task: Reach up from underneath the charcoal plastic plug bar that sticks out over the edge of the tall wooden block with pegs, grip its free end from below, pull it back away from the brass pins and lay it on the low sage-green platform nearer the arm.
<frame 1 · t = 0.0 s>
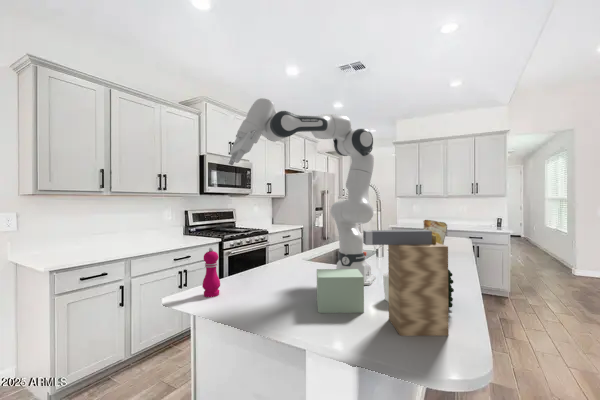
hand: (233, 163, 121), 54 cm above the counter, tool tilted 30°, fingers open, 8 cm apart
green platform: (339, 306, 113), on the counter
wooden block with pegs: (416, 326, 95), on the counter
plug bar: (396, 243, 95), point 26 cm above the counter, touching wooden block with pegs
white cup: (393, 300, 119), on the counter
pancake mix bag: (432, 276, 155), on the counter
toy figurine: (438, 302, 117), on the counter
pepper mill: (211, 295, 128), on the counter
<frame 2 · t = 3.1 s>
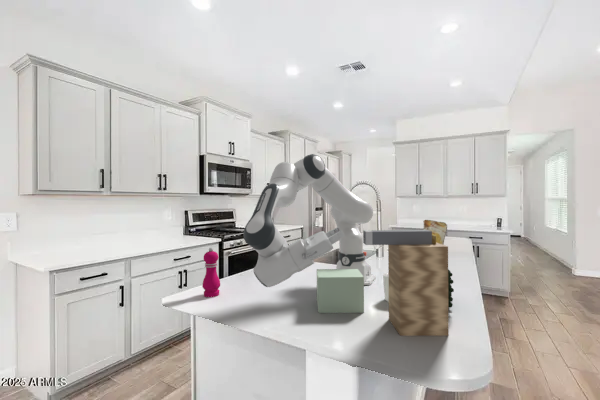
hand: (341, 231, 95), 30 cm above the counter, tool pointing upward, fingers open, 8 cm apart
nothing on the counter moved.
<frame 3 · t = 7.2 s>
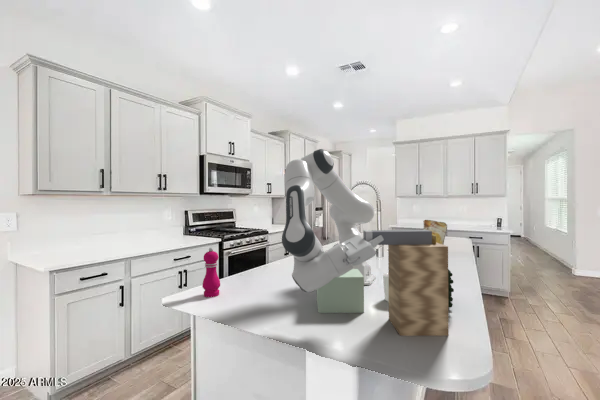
hand: (379, 235, 95), 28 cm above the counter, tool pointing upward, fingers closed on plug bar, 4 cm apart
plug bar: (396, 243, 95), point 26 cm above the counter, touching gripper, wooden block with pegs
everything else where it was.
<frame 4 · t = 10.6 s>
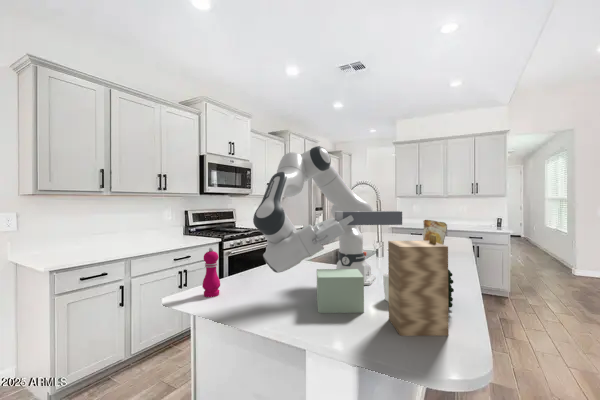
hand: (350, 216, 95), 35 cm above the counter, tool pointing upward, fingers closed on plug bar, 4 cm apart
plug bar: (367, 224, 95), point 32 cm above the counter, touching gripper
everything else where it was.
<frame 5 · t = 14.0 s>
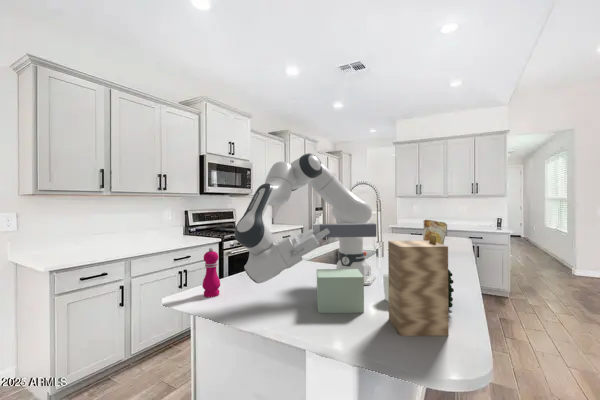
hand: (327, 229, 99), 30 cm above the counter, tool pointing upward, fingers closed on plug bar, 4 cm apart
plug bar: (344, 236, 99), point 28 cm above the counter, touching gripper
everything else where it was.
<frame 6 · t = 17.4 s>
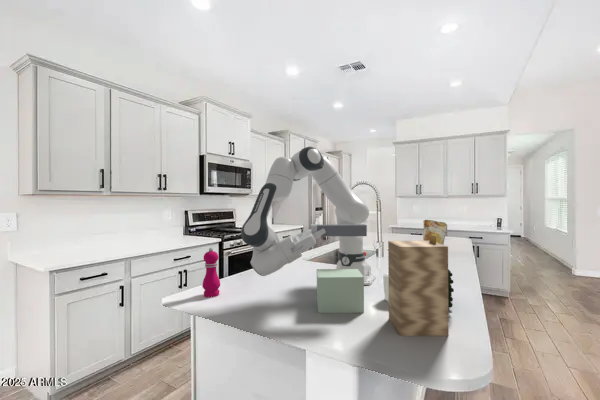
hand: (324, 229, 113), 29 cm above the counter, tool pointing upward, fingers closed on plug bar, 4 cm apart
plug bar: (338, 235, 113), point 26 cm above the counter, touching gripper
everything else where it was.
when the fingers open (18 cm above the counter, at t = 20.7 s): plug bar drops 4 cm, resting on green platform.
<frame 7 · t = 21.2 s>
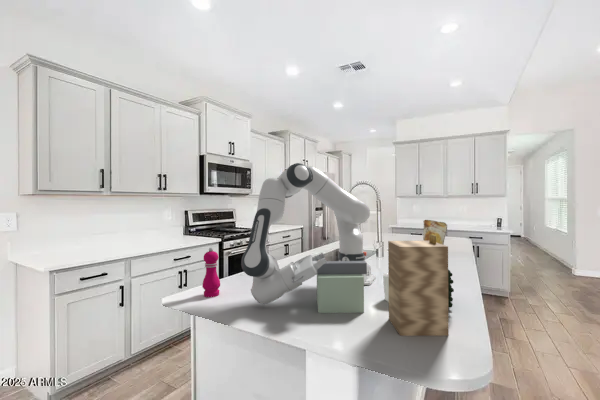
hand: (324, 257, 113), 18 cm above the counter, tool pointing upward, fingers open, 8 cm apart
plug bar: (338, 272, 113), point 12 cm above the counter, touching green platform
everything else where it was.
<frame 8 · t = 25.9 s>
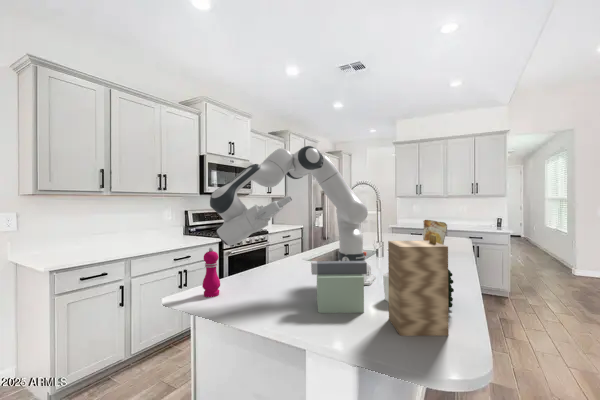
hand: (290, 198, 112), 40 cm above the counter, tool pointing upward, fingers open, 8 cm apart
nothing on the counter moved.
at the end: plug bar inside the target area on the green platform (0.1 cm from its centre), point 12.5 cm above the green platform's base; plug bar touching green platform; the gripper is holding nothing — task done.
